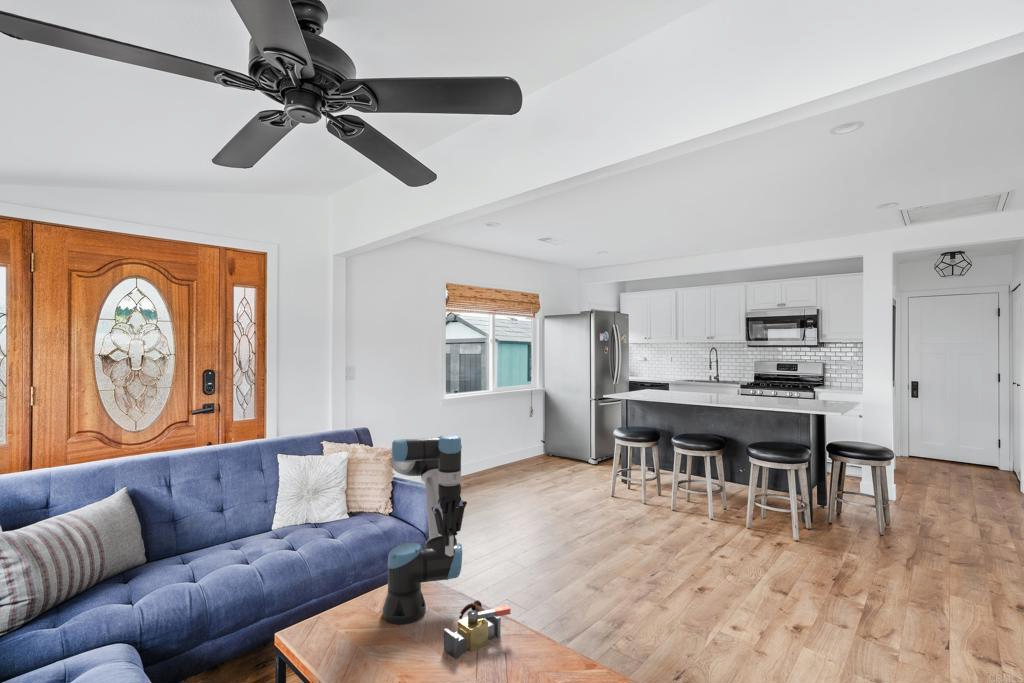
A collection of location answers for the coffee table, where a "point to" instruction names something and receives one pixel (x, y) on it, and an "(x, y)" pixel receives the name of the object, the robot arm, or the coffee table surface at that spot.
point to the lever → (487, 613)
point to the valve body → (471, 635)
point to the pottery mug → (473, 606)
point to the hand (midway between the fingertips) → (449, 554)
